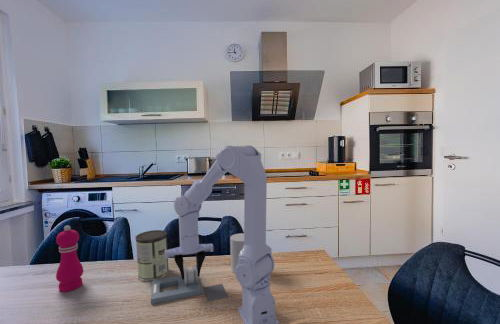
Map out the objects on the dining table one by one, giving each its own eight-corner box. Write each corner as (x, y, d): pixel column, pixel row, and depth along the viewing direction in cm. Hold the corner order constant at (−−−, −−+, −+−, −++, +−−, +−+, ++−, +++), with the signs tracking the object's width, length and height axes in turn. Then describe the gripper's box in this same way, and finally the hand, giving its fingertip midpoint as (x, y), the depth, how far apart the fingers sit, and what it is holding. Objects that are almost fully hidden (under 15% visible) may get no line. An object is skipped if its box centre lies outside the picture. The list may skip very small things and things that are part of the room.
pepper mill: (70, 293, 79) (66, 229, 78) (51, 291, 80) (46, 228, 79) (89, 281, 86) (86, 222, 85) (71, 280, 87) (67, 222, 86)
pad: (228, 298, 74) (228, 297, 74) (207, 302, 72) (207, 301, 72) (222, 284, 82) (222, 283, 82) (203, 288, 80) (203, 287, 80)
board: (201, 295, 76) (201, 288, 76) (151, 305, 72) (150, 298, 72) (196, 277, 87) (196, 272, 87) (152, 286, 82) (152, 280, 82)
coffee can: (146, 267, 96) (144, 229, 95) (173, 267, 95) (171, 230, 94) (131, 281, 86) (129, 239, 85) (161, 282, 85) (159, 240, 84)
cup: (254, 275, 87) (253, 241, 87) (230, 276, 87) (229, 241, 87) (254, 265, 95) (253, 233, 95) (232, 265, 96) (231, 233, 95)
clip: (198, 282, 79) (197, 270, 79) (184, 284, 78) (184, 272, 78) (196, 276, 83) (196, 265, 83) (183, 278, 82) (183, 267, 82)
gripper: (210, 227, 86) (211, 267, 87) (164, 233, 81) (166, 275, 82) (214, 233, 79) (215, 276, 80) (164, 240, 75) (166, 286, 75)
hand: (190, 276), depth 81 cm, fingers closed on clip, 4 cm apart
